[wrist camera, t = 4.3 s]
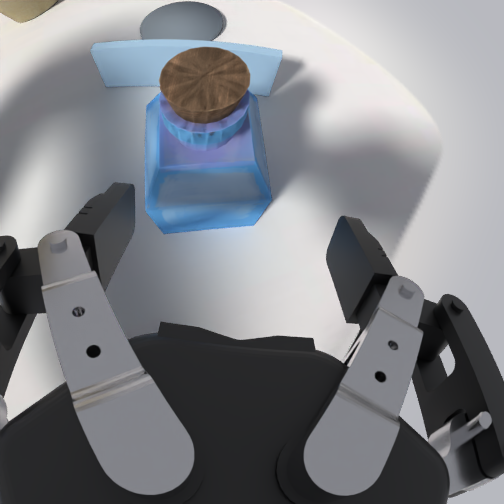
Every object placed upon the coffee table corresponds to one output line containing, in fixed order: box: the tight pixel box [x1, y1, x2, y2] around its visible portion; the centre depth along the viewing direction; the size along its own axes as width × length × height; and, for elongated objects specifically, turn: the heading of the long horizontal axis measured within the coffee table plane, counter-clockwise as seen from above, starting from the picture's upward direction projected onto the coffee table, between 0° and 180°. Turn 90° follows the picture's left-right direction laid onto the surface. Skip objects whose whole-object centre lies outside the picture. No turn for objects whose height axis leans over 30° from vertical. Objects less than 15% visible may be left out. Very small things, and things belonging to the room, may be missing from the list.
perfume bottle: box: [145, 47, 272, 234], centre depth 15 cm, size 6×6×12 cm
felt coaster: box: [140, 1, 223, 41], centre depth 22 cm, size 8×8×1 cm
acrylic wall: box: [90, 39, 282, 96], centre depth 19 cm, size 1×14×5 cm, turn 85°
